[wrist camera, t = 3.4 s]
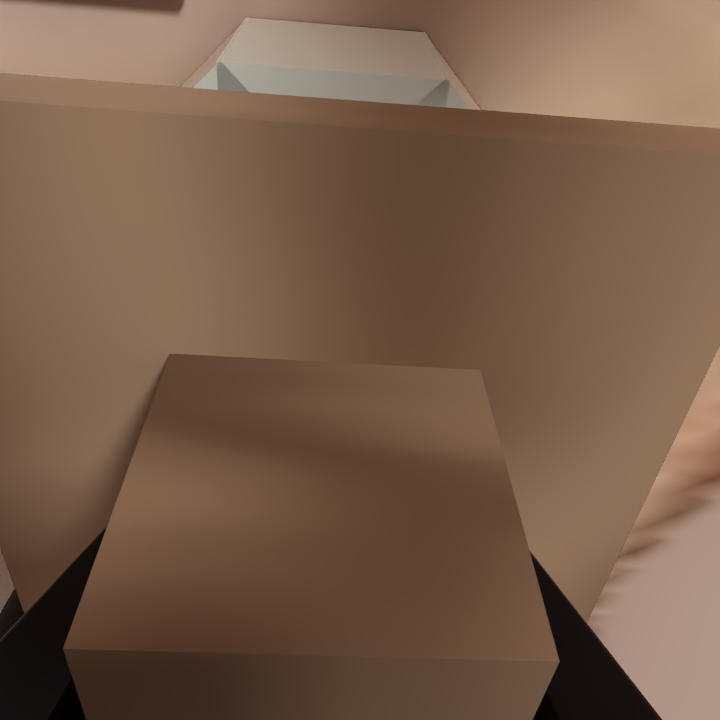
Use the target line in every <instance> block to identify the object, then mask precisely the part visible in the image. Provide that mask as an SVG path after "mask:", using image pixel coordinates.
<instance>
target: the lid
mask: <svg viewBox="0 0 720 720" xmlns="http://www.w3.org/2000/svg"><path fill="white" fill-rule="evenodd" d="M719 346H720V129H719V128H706V127H693V126H680V125H667V124H654V123H641V122H628V121H615V120H602V119H589V118H576V117H563V116H550V115H537V114H524V113H511V112H498V111H485V110H472V109H459V108H446V107H433V106H420V105H407V104H394V103H381V102H368V101H355V100H342V99H329V98H316V97H303V96H290V95H277V94H264V93H251V92H238V91H225V90H212V89H199V88H186V87H173V86H161V85H148V84H135V83H122V82H109V81H96V80H83V79H70V78H57V77H44V76H31V75H18V74H5V73H0V548H1V551H2V554H3V556H4V559H5V562H6V565H7V567H8V570H9V573H10V575H11V578H12V581H13V584H14V586H15V589H16V592H17V595H18V597H19V600H20V603H21V606H22V608H23V611H24V614H25V612H26V611H27V610H28V609H29V608H30V607H31V606H32V605H33V604H34V603H35V602H36V601H37V600H38V599H39V598H40V596H41V595H42V594H43V593H44V592H45V591H46V590H47V589H48V588H49V587H50V586H51V585H52V584H53V583H54V582H55V580H56V579H57V578H58V577H59V576H60V575H61V574H62V573H63V572H64V571H65V570H66V569H67V568H68V567H69V566H70V564H71V563H72V562H73V561H74V560H75V559H76V558H77V557H78V556H79V555H80V554H81V553H82V552H83V551H84V550H85V548H86V547H87V546H88V545H89V544H90V543H91V542H92V541H93V540H94V539H95V538H96V537H97V536H98V535H99V534H100V532H101V531H102V530H103V529H104V528H105V527H106V526H107V525H108V526H107V528H106V531H105V534H104V537H103V540H102V542H101V545H100V548H99V551H98V553H97V556H96V559H95V562H94V564H93V567H92V570H91V573H90V576H89V578H88V581H87V584H86V587H85V589H84V592H83V595H82V598H81V600H80V603H79V606H78V609H77V611H76V614H75V617H74V620H73V623H72V625H71V628H70V631H69V634H68V636H67V639H66V642H65V645H64V647H63V650H64V653H65V656H66V660H67V663H68V666H69V669H70V672H71V675H72V678H73V681H74V684H75V687H76V690H77V693H78V696H79V700H80V703H81V706H82V709H83V712H84V715H85V718H86V720H533V718H534V716H535V713H536V711H537V709H538V707H539V705H540V703H541V701H542V698H543V696H544V694H545V692H546V690H547V688H548V686H549V684H550V681H551V679H552V677H553V675H554V673H555V671H556V669H557V666H558V664H559V662H560V661H559V657H558V654H557V650H556V646H555V643H554V639H553V635H552V632H551V628H550V624H549V621H548V617H547V613H546V610H545V606H544V602H543V598H542V595H541V591H540V587H539V584H538V580H537V576H536V573H535V569H534V565H533V562H532V558H531V554H530V551H531V553H532V554H533V555H534V556H535V558H536V559H537V560H538V562H539V563H540V564H541V565H542V567H543V568H544V569H545V571H546V572H547V573H548V574H549V576H550V577H551V578H552V579H553V581H554V582H555V583H556V585H557V586H558V587H559V588H560V590H561V591H562V592H563V594H564V595H565V596H566V597H567V599H568V600H569V601H570V602H571V604H572V605H573V606H574V608H575V609H576V610H577V611H578V613H579V614H580V615H581V617H582V618H583V619H584V620H585V622H586V623H587V621H588V619H589V617H590V615H591V613H592V610H593V608H594V606H595V604H596V602H597V600H598V598H599V596H600V594H601V592H602V590H603V588H604V585H605V583H606V581H607V579H608V577H609V575H610V573H611V571H612V569H613V567H614V565H615V563H616V560H617V558H618V556H619V554H620V552H621V550H622V548H623V546H624V544H625V542H626V540H627V538H628V535H629V533H630V531H631V529H632V527H633V525H634V523H635V521H636V519H637V517H638V515H639V513H640V510H641V508H642V506H643V504H644V502H645V500H646V498H647V496H648V494H649V492H650V490H651V488H652V485H653V483H654V481H655V479H656V477H657V475H658V473H659V471H660V469H661V467H662V465H663V463H664V460H665V458H666V456H667V454H668V452H669V450H670V448H671V446H672V444H673V442H674V440H675V438H676V435H677V433H678V431H679V429H680V427H681V425H682V423H683V421H684V419H685V417H686V415H687V413H688V410H689V408H690V406H691V404H692V402H693V400H694V398H695V396H696V394H697V392H698V390H699V388H700V386H701V383H702V381H703V379H704V377H705V375H706V373H707V371H708V369H709V367H710V365H711V363H712V361H713V358H714V356H715V354H716V352H717V350H718V348H719ZM529 550H530V551H529Z"/></svg>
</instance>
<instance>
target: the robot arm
mask: <svg viewBox="0 0 720 720" xmlns="http://www.w3.org/2000/svg"><path fill="white" fill-rule="evenodd" d="M107 526H108V525H107ZM107 526H106V527H105V528H104V529H103V530H102V531H101V532H100V534H99V535H98V536H97V537H96V538H95V539H94V540H93V541H92V542H91V543H90V544H89V545H88V546H87V547H86V548H85V550H84V551H83V552H82V553H81V554H80V555H79V556H78V557H77V558H76V559H75V560H74V561H73V562H72V563H71V564H70V566H69V567H68V568H67V569H66V570H65V571H64V572H63V573H62V574H61V575H60V576H59V577H58V578H57V579H56V580H55V582H54V583H53V584H52V585H51V586H50V587H49V588H48V589H47V590H46V591H45V592H44V593H43V594H42V595H41V596H40V598H39V599H38V600H37V601H36V602H35V603H34V604H33V605H32V606H31V607H30V608H29V609H28V610H27V611H26V612H25V614H24V615H23V616H22V617H21V618H20V619H19V620H18V621H17V622H16V623H15V624H14V625H13V626H12V627H11V628H10V630H9V631H8V632H7V633H6V634H5V635H4V636H3V637H2V638H1V639H0V720H86V718H85V715H84V712H83V709H82V706H81V703H80V700H79V696H78V693H77V690H76V687H75V684H74V681H73V678H72V675H71V672H70V669H69V666H68V663H67V660H66V656H65V653H64V650H63V647H64V645H65V642H66V639H67V636H68V634H69V631H70V628H71V625H72V623H73V620H74V617H75V614H76V611H77V609H78V606H79V603H80V600H81V598H82V595H83V592H84V589H85V587H86V584H87V581H88V578H89V576H90V573H91V570H92V567H93V564H94V562H95V559H96V556H97V553H98V551H99V548H100V545H101V542H102V540H103V537H104V534H105V531H106V528H107ZM529 551H530V550H529ZM530 554H531V558H532V562H533V565H534V569H535V573H536V576H537V580H538V584H539V587H540V591H541V595H542V598H543V602H544V606H545V610H546V613H547V617H548V621H549V624H550V628H551V632H552V635H553V639H554V643H555V646H556V650H557V654H558V657H559V661H560V662H559V664H558V666H557V669H556V671H555V673H554V675H553V677H552V679H551V681H550V684H549V686H548V688H547V690H546V692H545V694H544V696H543V698H542V701H541V703H540V705H539V707H538V709H537V711H536V713H535V716H534V718H533V720H662V719H661V718H660V716H659V715H658V714H657V712H656V711H655V710H654V709H653V707H652V706H651V705H650V704H649V702H648V701H647V700H646V698H645V697H644V696H643V695H642V694H641V692H640V691H639V689H638V688H637V687H636V686H635V684H634V683H633V682H632V680H631V679H630V678H629V677H628V675H627V674H626V673H625V672H624V670H623V669H622V668H621V667H620V665H619V664H618V663H617V662H616V660H615V659H614V657H613V656H612V655H611V654H610V652H609V651H608V650H607V649H606V647H605V646H604V645H603V643H602V642H601V641H600V640H599V638H598V637H597V636H596V634H595V633H594V632H593V631H592V629H591V628H590V627H589V626H588V624H587V623H586V622H585V620H584V619H583V618H582V617H581V615H580V614H579V613H578V611H577V610H576V609H575V608H574V606H573V605H572V604H571V602H570V601H569V600H568V599H567V597H566V596H565V595H564V594H563V592H562V591H561V590H560V588H559V587H558V586H557V585H556V583H555V582H554V581H553V579H552V578H551V577H550V576H549V574H548V573H547V572H546V571H545V569H544V568H543V567H542V565H541V564H540V563H539V562H538V560H537V559H536V558H535V556H534V555H533V554H532V553H531V551H530Z"/></svg>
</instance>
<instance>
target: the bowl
mask: <svg viewBox="0 0 720 720" xmlns="http://www.w3.org/2000/svg"><path fill="white" fill-rule="evenodd" d="M181 87H186V88H199V89H212V90H225V91H238V92H251V93H264V94H277V95H290V96H303V97H316V98H329V99H342V100H355V101H368V102H381V103H394V104H407V105H420V106H433V107H446V108H459V109H472V110H480V108H479V107H478V105H477V104H476V103H475V101H474V100H473V99H472V97H471V96H470V95H469V93H468V92H467V90H466V89H465V88H464V86H463V85H462V84H461V82H460V81H459V79H458V78H457V77H456V75H455V74H454V73H453V71H452V70H451V68H450V67H449V66H448V64H447V63H446V62H445V60H444V59H443V57H442V56H441V55H440V53H439V52H438V51H437V49H436V48H435V46H434V45H433V44H432V42H431V41H430V40H429V38H428V36H427V34H426V32H424V31H422V32H415V31H403V30H391V29H379V28H367V27H355V26H343V25H331V24H319V23H307V22H295V21H283V20H271V19H259V18H250V17H249V16H248V17H246V18H245V19H244V21H243V22H242V24H241V25H240V26H239V27H238V28H237V29H236V30H235V31H234V32H233V33H232V34H231V35H230V36H229V37H228V38H227V39H226V40H225V41H224V42H223V43H222V44H221V45H220V46H219V47H218V48H217V49H216V50H215V52H214V53H213V54H212V55H211V56H210V57H209V58H208V59H207V60H206V61H205V62H204V63H203V64H202V65H201V66H200V67H199V68H198V69H197V70H196V71H195V72H194V73H193V74H192V75H191V76H190V77H189V78H188V79H187V80H186V81H185V83H184V84H183V85H182V86H181Z"/></svg>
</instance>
